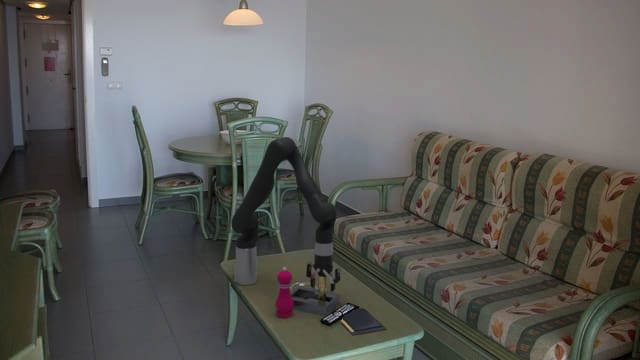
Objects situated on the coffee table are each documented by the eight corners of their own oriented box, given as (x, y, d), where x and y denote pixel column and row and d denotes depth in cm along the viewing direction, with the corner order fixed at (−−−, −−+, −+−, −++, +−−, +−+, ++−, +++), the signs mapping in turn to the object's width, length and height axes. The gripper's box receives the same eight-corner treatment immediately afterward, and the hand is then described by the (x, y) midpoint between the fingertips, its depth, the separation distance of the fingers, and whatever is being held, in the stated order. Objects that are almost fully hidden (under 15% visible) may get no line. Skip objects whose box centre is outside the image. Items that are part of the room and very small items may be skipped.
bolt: (311, 308, 231) (312, 276, 228) (318, 302, 237) (318, 271, 234) (326, 311, 229) (326, 279, 226) (332, 305, 235) (332, 274, 232)
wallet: (387, 327, 214) (351, 333, 209) (387, 331, 214) (350, 337, 209) (365, 305, 232) (331, 310, 227) (365, 309, 233) (331, 314, 227)
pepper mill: (286, 319, 221) (286, 272, 216) (271, 315, 224) (271, 268, 220) (296, 313, 227) (297, 266, 222) (282, 308, 230) (282, 262, 226)
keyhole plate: (284, 306, 232) (284, 298, 231) (299, 294, 245) (299, 286, 244) (326, 316, 225) (327, 307, 224) (339, 302, 237) (340, 294, 236)
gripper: (303, 252, 228) (303, 289, 231) (336, 257, 222) (335, 295, 225) (311, 246, 234) (310, 282, 238) (343, 252, 229) (342, 289, 232)
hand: (322, 289), depth 232 cm, fingers open, 8 cm apart
